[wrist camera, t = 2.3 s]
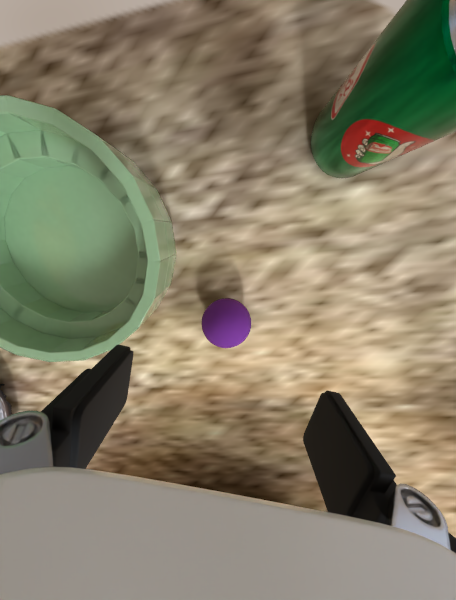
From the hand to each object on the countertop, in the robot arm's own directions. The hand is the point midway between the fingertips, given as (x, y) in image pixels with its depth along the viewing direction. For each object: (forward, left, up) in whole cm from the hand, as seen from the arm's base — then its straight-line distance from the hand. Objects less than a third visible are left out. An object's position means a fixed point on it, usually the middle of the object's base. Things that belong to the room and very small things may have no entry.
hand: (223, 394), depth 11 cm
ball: (0, 0, -8) cm, 8 cm away
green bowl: (-3, -13, -10) cm, 17 cm away
